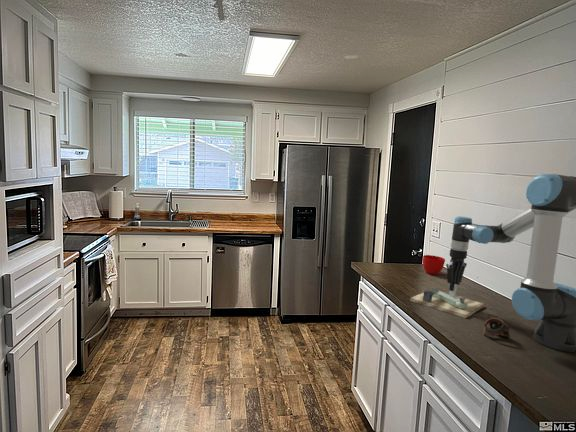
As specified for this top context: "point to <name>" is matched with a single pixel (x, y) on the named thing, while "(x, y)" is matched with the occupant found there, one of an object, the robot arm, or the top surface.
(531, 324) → the top surface
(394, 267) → the top surface
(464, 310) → the base board
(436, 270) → the ceramic cup
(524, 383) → the top surface
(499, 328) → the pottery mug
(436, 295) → the link
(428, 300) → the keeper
